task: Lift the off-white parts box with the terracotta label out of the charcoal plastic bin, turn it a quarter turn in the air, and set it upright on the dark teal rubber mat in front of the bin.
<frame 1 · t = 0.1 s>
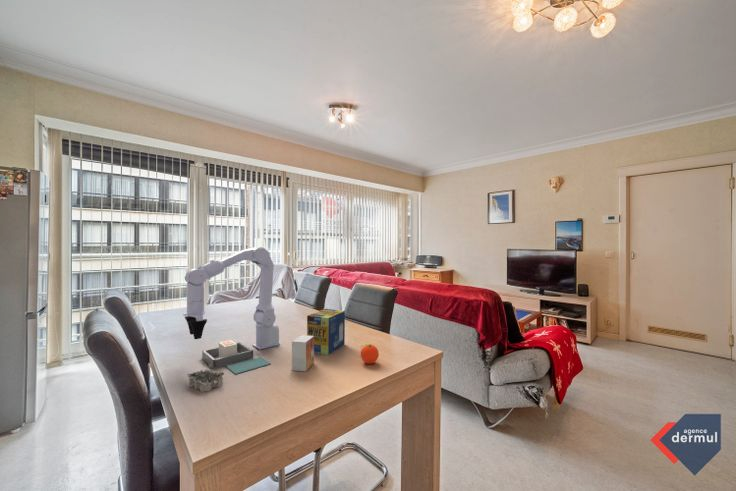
hand: (195, 336, 112), 10 cm above the table, tool pointing down, fingers open, 7 cm apart
clementine: (368, 363, 113), on the table
mat: (248, 365, 110), on the table
egg carton: (205, 385, 95), on the table
small box: (303, 367, 109), on the table
bin: (227, 358, 117), on the table
parts box: (227, 350, 117), in the bin
protein box: (326, 348, 128), on the table
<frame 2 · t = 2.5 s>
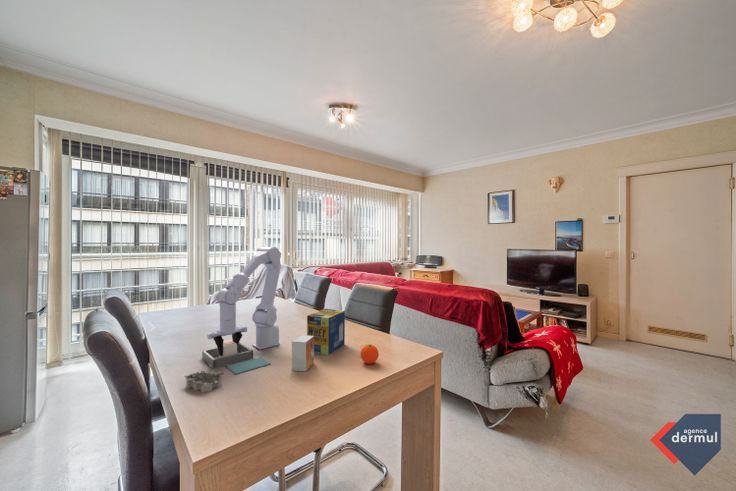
hand: (227, 353, 117), 2 cm above the table, tool pointing down, fingers closed on parts box, 4 cm apart
parts box: (227, 350, 117), in the bin, touching gripper
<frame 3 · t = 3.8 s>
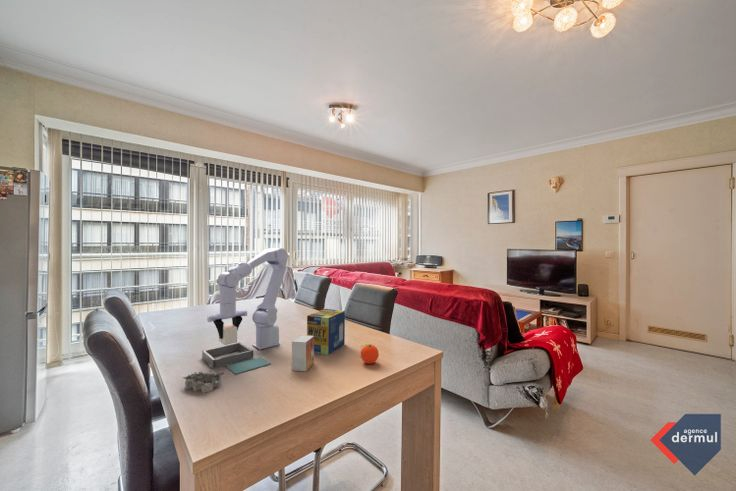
hand: (227, 336, 117), 8 cm above the table, tool pointing down, fingers closed on parts box, 4 cm apart
parts box: (227, 333, 117), point 10 cm above the table, touching gripper
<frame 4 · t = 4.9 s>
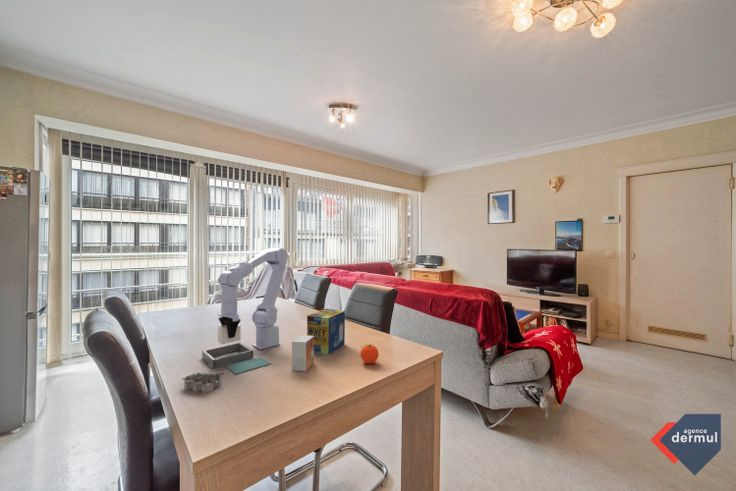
hand: (229, 336, 116), 9 cm above the table, tool pointing down, fingers closed on parts box, 4 cm apart
parts box: (229, 333, 116), point 10 cm above the table, touching gripper
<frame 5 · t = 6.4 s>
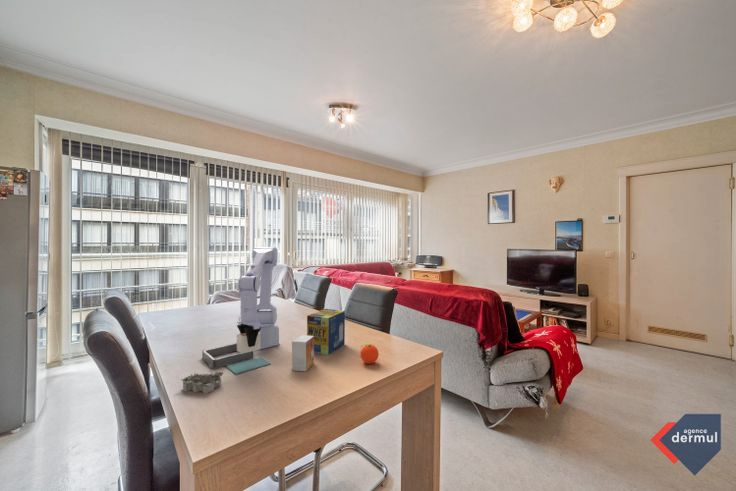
hand: (248, 344, 110), 8 cm above the table, tool pointing down, fingers closed on parts box, 4 cm apart
parts box: (248, 341, 110), point 9 cm above the table, touching gripper
when the fingers open (4 cm above the table, at t = 7.7 s): parts box drops 1 cm, resting on mat.
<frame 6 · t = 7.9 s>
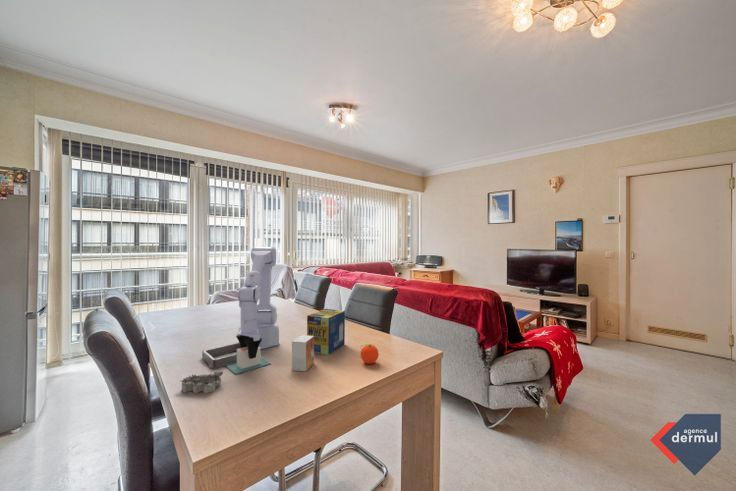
hand: (248, 355, 110), 4 cm above the table, tool pointing down, fingers open, 6 cm apart
parts box: (248, 356, 110), on the mat
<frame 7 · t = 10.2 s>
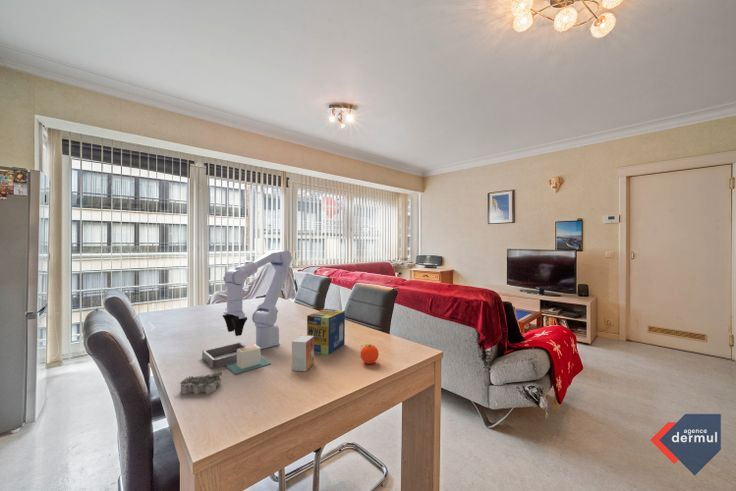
hand: (234, 333, 118), 9 cm above the table, tool pointing down, fingers open, 7 cm apart
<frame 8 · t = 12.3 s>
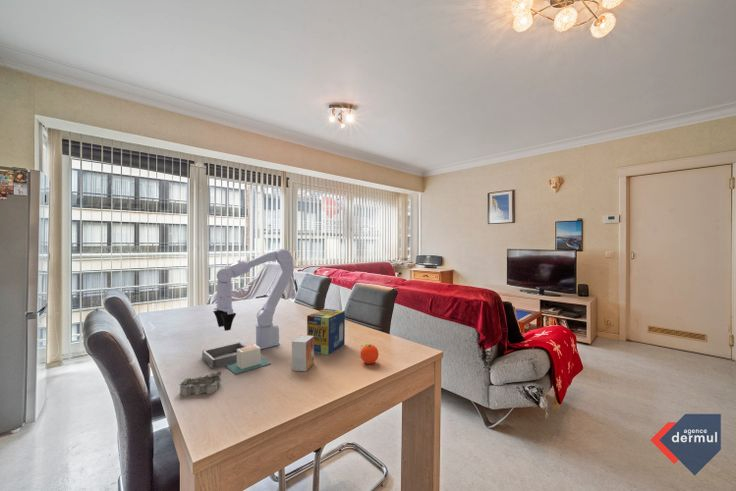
hand: (224, 328, 125), 9 cm above the table, tool pointing down, fingers open, 7 cm apart
at the end: parts box inside the target area on the mat (0.0 cm from its centre), point 3.5 cm above the mat's base; parts box tilted 0°; the gripper is holding nothing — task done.
